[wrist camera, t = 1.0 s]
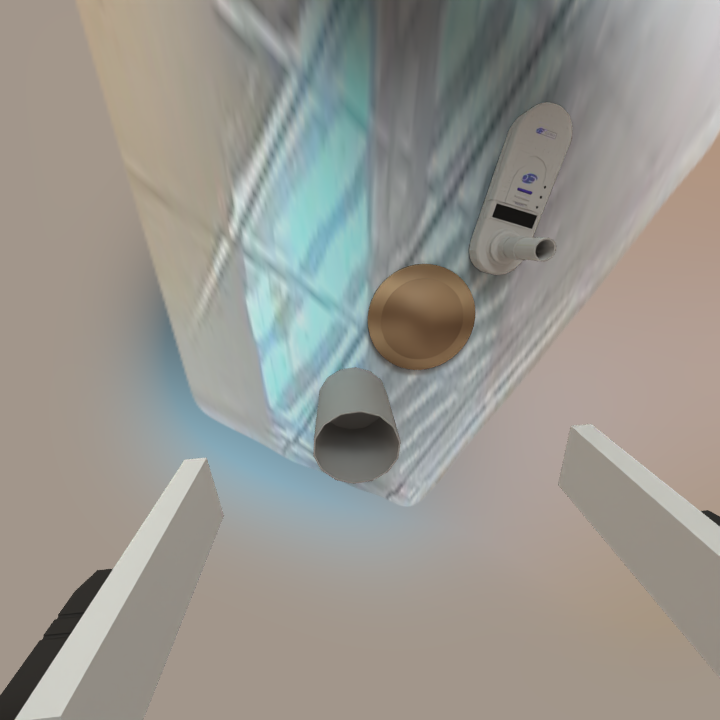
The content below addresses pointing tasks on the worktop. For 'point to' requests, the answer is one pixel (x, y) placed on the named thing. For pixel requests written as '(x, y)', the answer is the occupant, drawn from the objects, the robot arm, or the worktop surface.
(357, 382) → the cup
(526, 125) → the electronic device
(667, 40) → the worktop surface
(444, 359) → the plate
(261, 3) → the worktop surface
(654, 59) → the worktop surface
